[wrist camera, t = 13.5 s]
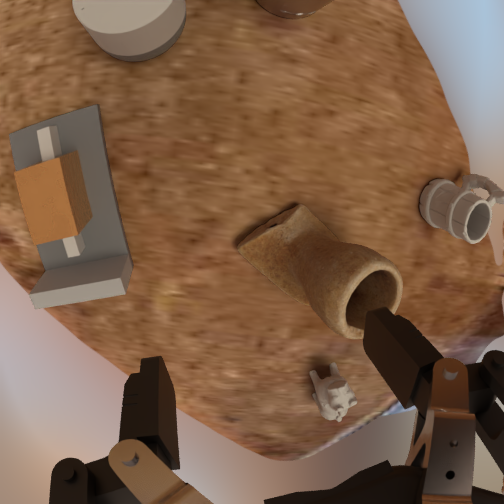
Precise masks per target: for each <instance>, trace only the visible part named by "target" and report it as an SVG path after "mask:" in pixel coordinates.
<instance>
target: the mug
mask: <svg viewBox="0 0 504 504" xmlns="http://www.w3.org/2000/svg"><path fill="white" fill-rule="evenodd" d="M462 180H463V184H462V187H461V188H460V187H457V186H456V185H455V184H454V183H453V182H451V181H449V180H447V179H435V180H433V181H431V182H429V185H428V186H426V187H425V188H424V190H423V192H422V194H421V197H420V203H421V204H419V208H420V212H421V215H422V217H423V218H424V219H425V220H426V221H427V223H428V224H430V225H431V226H433V227H435V228H442V229H444V230H446V231H448V232H449V233H450V234H451V235H452V236H454V237H456V238H462V239H463V240H465V241H467V242H469V243H472V244H474V243H478V242H479V241H481V240H482V238H484V236H485V235H486V233H487V232H488V229H489V227H490V224H491V218H492V209H491V207H493V205H494V204H495V203H500V204H504V191H503V190H502V189H500V188H499V187H498V186H497V185H496V184H495V183H493V182H492V181H491V180H489V178H487V177H484V176H479V175H477V174H470V175H464V176H463V177H462ZM479 187H481V188H483V189H485V190H487V191H488V192H489V194H490V196H489V197H488V198H487V200H485V199H483V198H481V197H478V196H477V195H476V194H475V193H474V192H472V191H471V188H472V189H475V188H479Z"/></svg>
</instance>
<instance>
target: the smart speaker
mask: <svg viewBox="0 0 504 504" xmlns="http://www.w3.org/2000/svg"><path fill="white" fill-rule="evenodd" d="M73 9H74V12H75V15H76V16H77V18H78V20H79V21H80V22H81V24H82V25H83V26H84V28H85V29H86V30H87V31H88V33H89V34H90V35H91V37H92V38H93V39H94V41H95V42H96V43H97V44H98V45H99V46H100V47H101V48H102V49H103V50H104V51H105V52H106V53H108V54H109V55H111V56H112V57H114V58H117V59H120V60H123V61H130V62H136V61H145V60H149V59H152V58H154V57H157V56H159V55H160V54H162V53H164V52H165V51H167V50H168V49H169V48H170V47H171V46H172V45H173V44H174V43H175V42H176V41H177V39H178V38H179V36H180V35H181V33H182V31H183V28H184V25H185V20H186V4H185V0H73Z"/></svg>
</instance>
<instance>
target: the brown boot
mask: <svg viewBox="0 0 504 504" xmlns="http://www.w3.org/2000/svg"><path fill="white" fill-rule="evenodd" d="M237 249H238V252H239V253H240V254H241V255H242V256H243V257H245V258H246V259H247V260H248V261H249V262H250V263H251V264H252V265H253V266H254V267H255V268H256V269H257V270H259V271H260V272H261V273H262V274H263V275H264V276H266V277H268V278H269V280H271V281H272V282H273V283H274V284H275V285H276V286H278V287H279V288H280V289H281V290H282V291H284V292H285V293H286V294H288V295H289V296H291V297H292V298H293V299H295V300H296V301H298V302H300V303H302V304H304V305H311V307H312V309H313V310H314V311H315V312H316V314H317V315H318V316H319V317H320V318H321V319H322V321H323V322H324V323H325V324H326V325H327V326H328V327H329V328H330V329H332V330H333V331H334V332H335V333H337V334H339V335H341V336H343V337H346V338H350V339H362V338H363V336H364V328H365V319H366V313H367V312H368V311H370V310H373V309H377V308H380V307H384V306H385V307H387V308H388V309H389V310H390V311H391V312H392V313H393V314H394V313H395V312H396V310H397V308H398V306H399V303H400V300H401V296H402V290H403V281H402V277H401V275H400V272H399V270H398V269H397V267H396V266H395V265H394V264H393V263H392V262H391V261H390V260H388V259H387V258H385V257H383V256H382V255H380V254H379V253H377V252H376V251H374V250H372V249H370V248H368V247H365V246H362V245H357V244H351V243H344V242H340V241H339V240H338V239H337V238H336V236H335V235H334V234H333V233H332V232H331V231H330V230H329V229H328V228H327V227H326V226H325V225H324V224H323V223H322V222H321V221H320V220H318V219H317V218H316V217H315V216H314V215H313V214H312V213H311V211H310V210H309V209H308V208H307V207H305V206H304V205H302V204H299V205H297V206H295V207H294V208H292V209H290V210H287V211H284V212H283V213H282V214H280V215H277V216H276V217H275V218H272V219H270V220H269V221H268V222H267V223H266V224H264V225H261V226H260V227H258V228H256V229H255V230H254V231H253V232H252V233H251V234H249V235H247V237H246V238H245V239H244V240H243V241H242V242H241V243H239V245H238V247H237Z"/></svg>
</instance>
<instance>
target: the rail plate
mask: <svg viewBox="0 0 504 504" xmlns="http://www.w3.org/2000/svg"><path fill="white" fill-rule="evenodd" d="M9 137H10V143H11V149H12V154H13V159H14V164H15V169H16V171H18V170H21V169H23V168H25V167H28V166H30V165H33V164H35V163H38V162H41V161H42V162H43V161H46V160H49V159H53V158H56V157H59V156H62V155H64V154H67V153H70V152H73V151H77V150H78V153H79V158H80V163H81V168H82V173H83V178H84V182H85V187H86V191H87V195H88V199H89V203H90V208H91V211H92V215H93V217H92V218H91V220H90V221H89V222H88V223H87V225H86V226H85V227H84V228H83V230H82V231H81V232H80V234H79V235H77V236H72V237H68V238H63V239H59V240H55V241H51V242H46V243H42V244H38V245H37V248H38V251H39V254H40V257H41V260H42V263H43V265H44V268H45V272H44V274H43V275H42V277H41V278H40V279H39V281H38V282H37V284H36V285H35V286H34V288H33V289H32V291H31V292H30V294H29V296H30V298H31V301H32V303H33V305H34V307H35V309H40V308H46V307H52V306H59V305H65V304H71V303H77V302H83V301H89V300H95V299H101V298H106V297H112V296H118V295H124V294H126V291H127V288H128V284H129V280H130V276H131V273H132V269H133V266H134V265H133V262H132V258H131V254H130V251H129V247H128V243H127V240H126V236H125V232H124V228H123V224H122V220H121V216H120V212H119V207H118V203H117V199H116V194H115V190H114V185H113V180H112V175H111V171H110V166H109V160H108V155H107V150H106V144H105V138H104V132H103V126H102V120H101V113H100V106H99V105H98V104H97V105H93V106H90V107H86V108H83V109H79V110H76V111H73V112H69V113H66V114H63V115H60V116H57V117H54V118H51V119H48V120H45V121H43V122H40V123H37V124H34V125H32V126H29V127H26V128H24V129H21V130H19V131H16V132H14V133H11V134H9Z"/></svg>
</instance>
